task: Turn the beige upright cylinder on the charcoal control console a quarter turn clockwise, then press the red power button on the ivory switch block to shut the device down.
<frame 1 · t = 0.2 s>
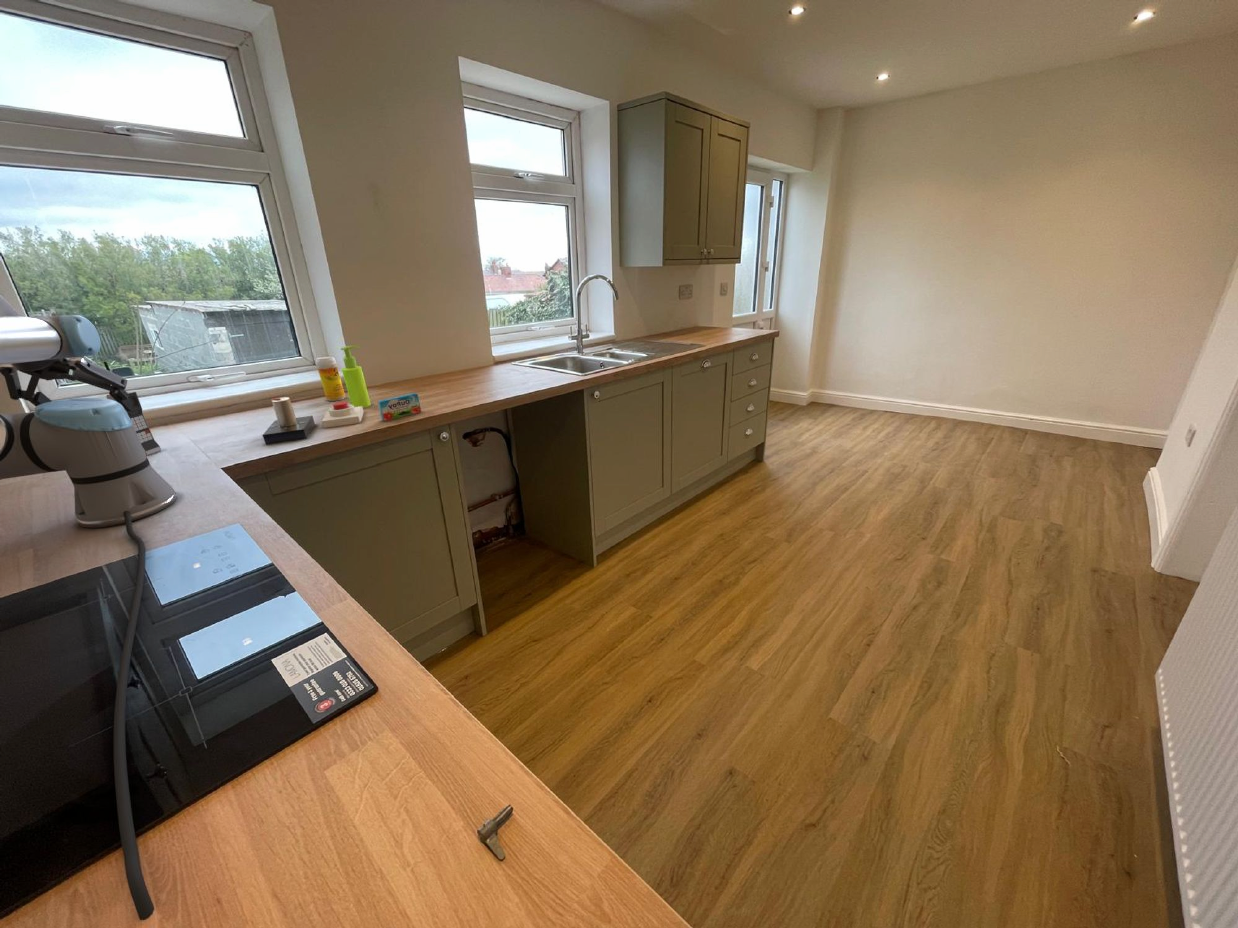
hand: (95, 410, 119), 16 cm above the worktop, tool tilted 35°, fingers open, 13 cm apart
beige upright cylinder: (284, 411, 143), point 7 cm above the worktop, hinge at 90.0°
yogurt: (402, 417, 157), on the worktop
vintage mobile phone: (148, 453, 137), on the worktop
power button: (340, 406, 155), point 4 cm above the worktop, slide at 0.1 cm
console: (291, 434, 146), on the worktop
yellow bottle: (336, 399, 181), on the worktop
soap dispenser: (363, 406, 171), on the worktop
switch block: (344, 420, 156), on the worktop
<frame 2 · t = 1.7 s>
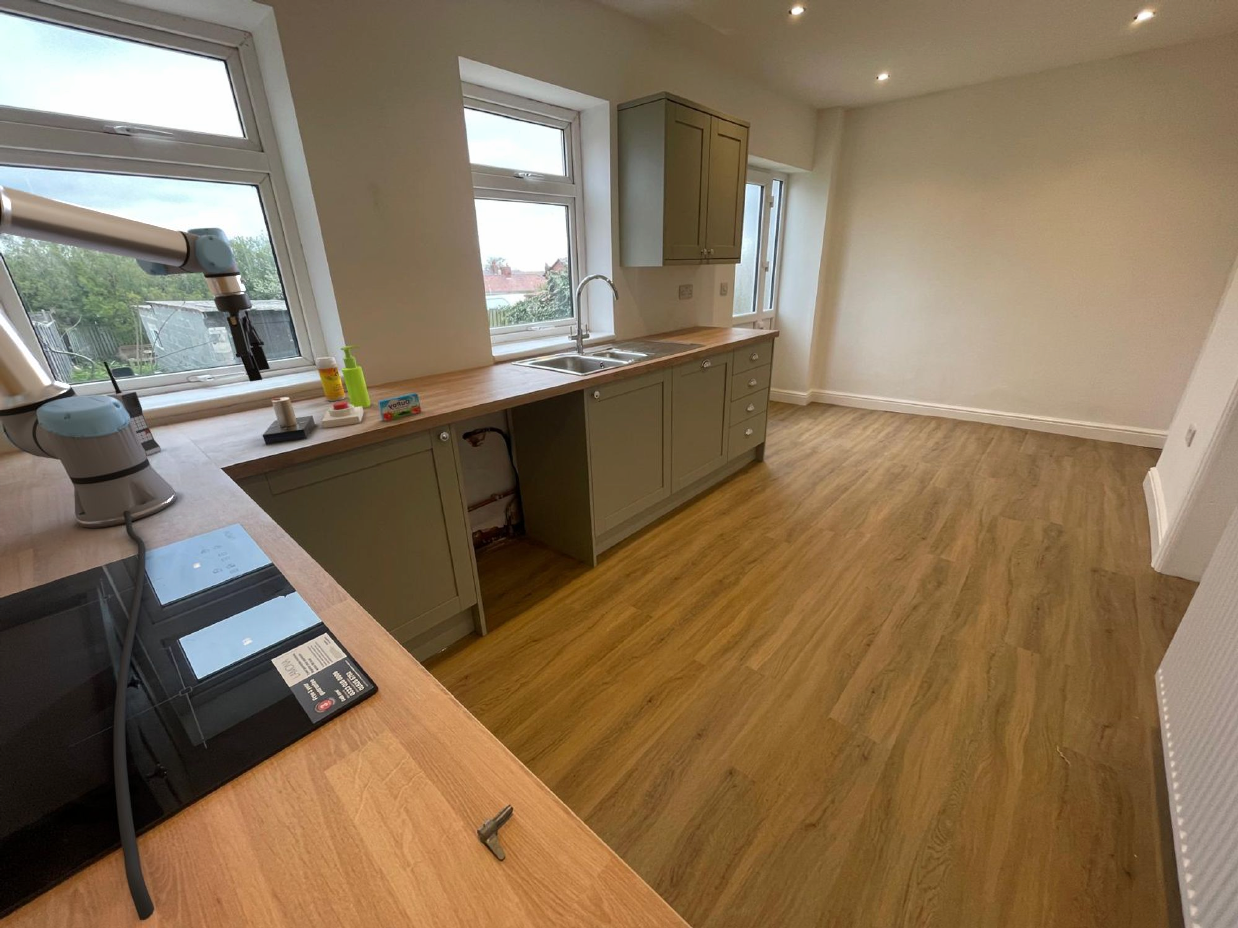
hand: (260, 375, 138), 18 cm above the worktop, tool pointing down, fingers open, 13 cm apart
nothing on the worktop moved.
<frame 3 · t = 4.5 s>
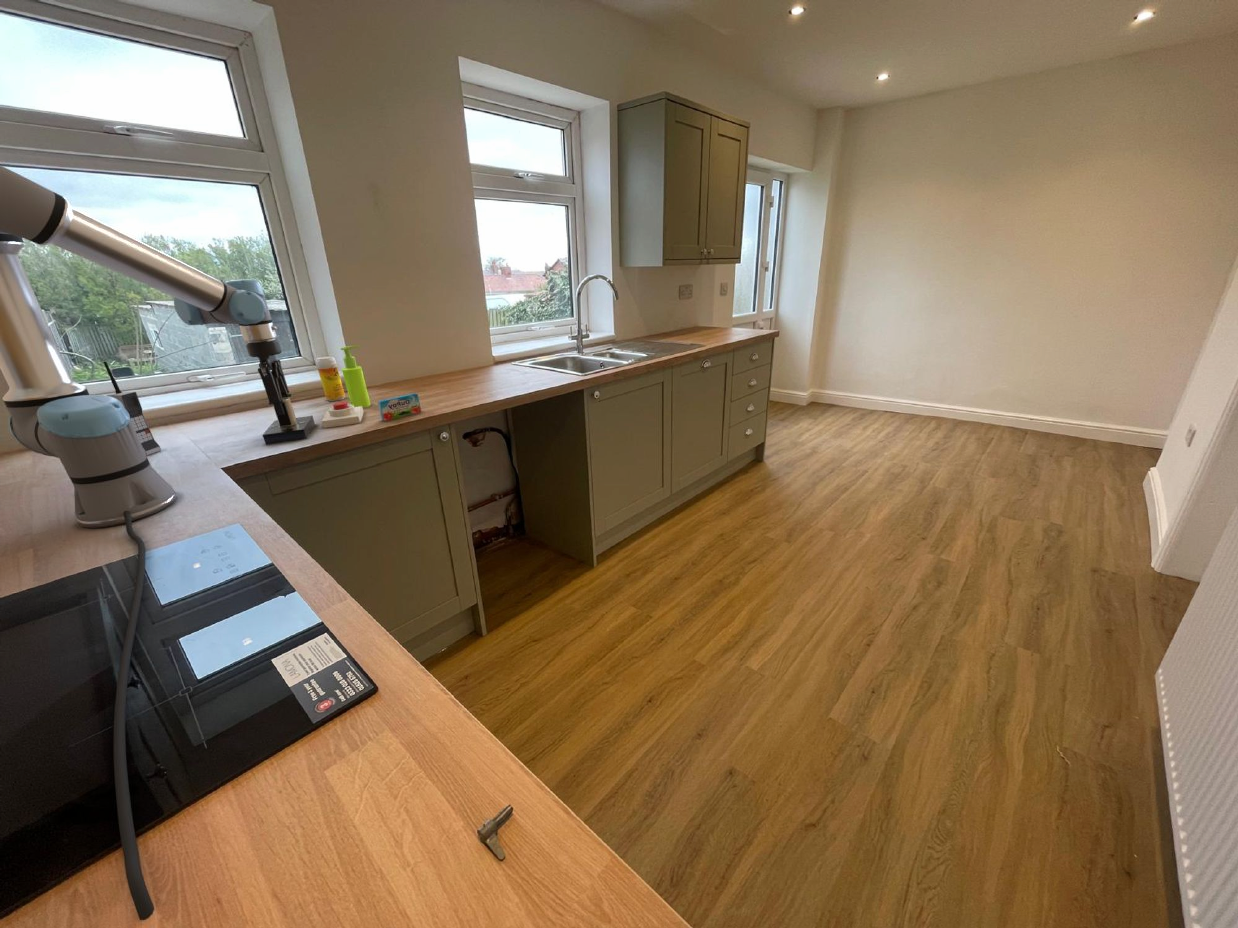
hand: (288, 422, 144), 4 cm above the worktop, tool pointing down, fingers closed on beige upright cylinder, 4 cm apart
beige upright cylinder: (284, 411, 143), point 7 cm above the worktop, hinge at 89.9°, touching gripper
everything else where it was.
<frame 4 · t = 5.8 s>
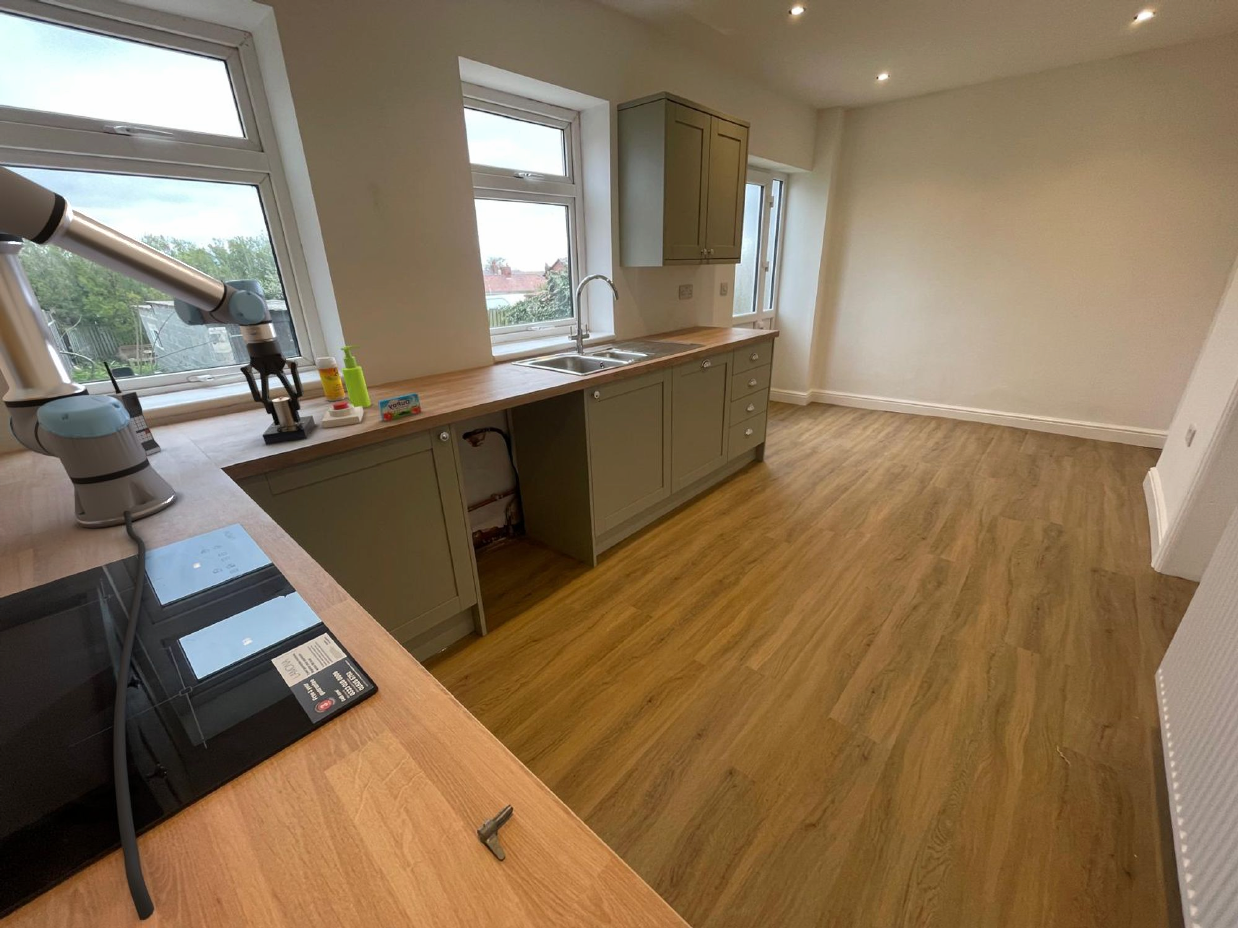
hand: (288, 422, 144), 4 cm above the worktop, tool pointing down, fingers closed on beige upright cylinder, 4 cm apart
beige upright cylinder: (284, 411, 143), point 7 cm above the worktop, hinge at -0.3°, touching gripper
everything else where it was.
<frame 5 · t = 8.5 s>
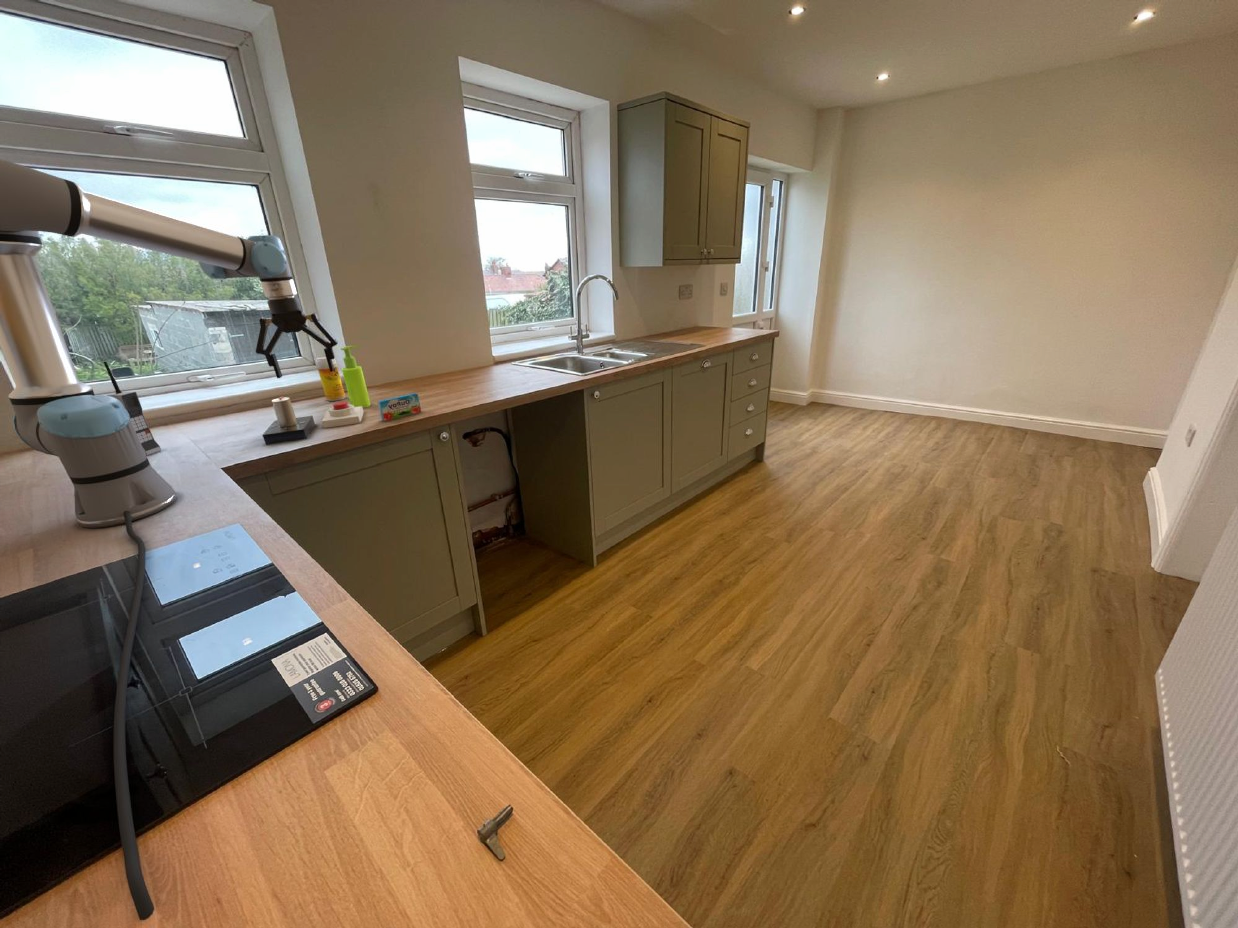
hand: (306, 374, 145), 16 cm above the worktop, tool pointing down, fingers open, 13 cm apart
beige upright cylinder: (284, 411, 143), point 7 cm above the worktop, hinge at -0.5°
everything else where it was.
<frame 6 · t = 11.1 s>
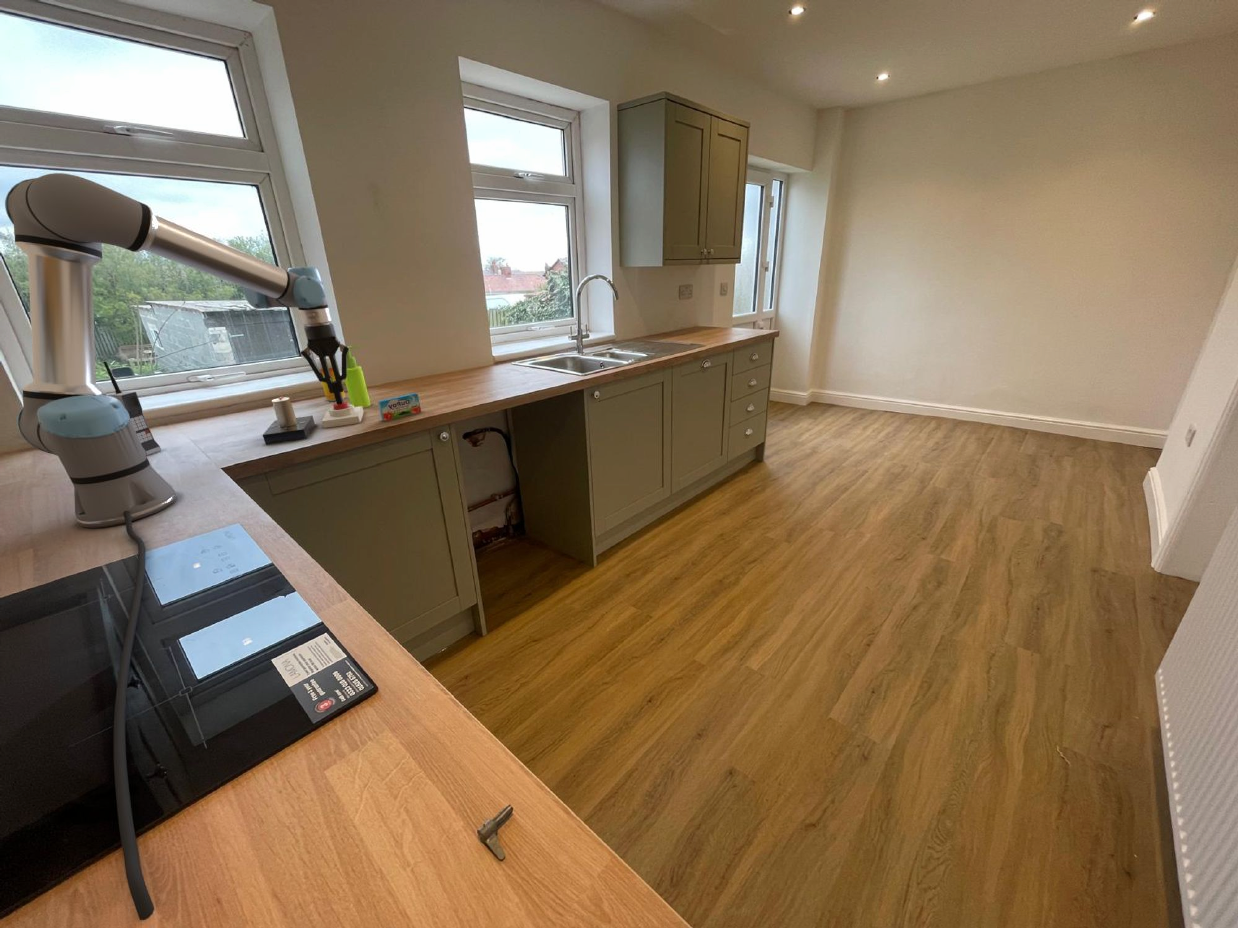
hand: (340, 402, 154), 6 cm above the worktop, tool pointing down, fingers closed
power button: (340, 406, 155), point 4 cm above the worktop, slide at 0.1 cm, touching gripper
everything else where it was.
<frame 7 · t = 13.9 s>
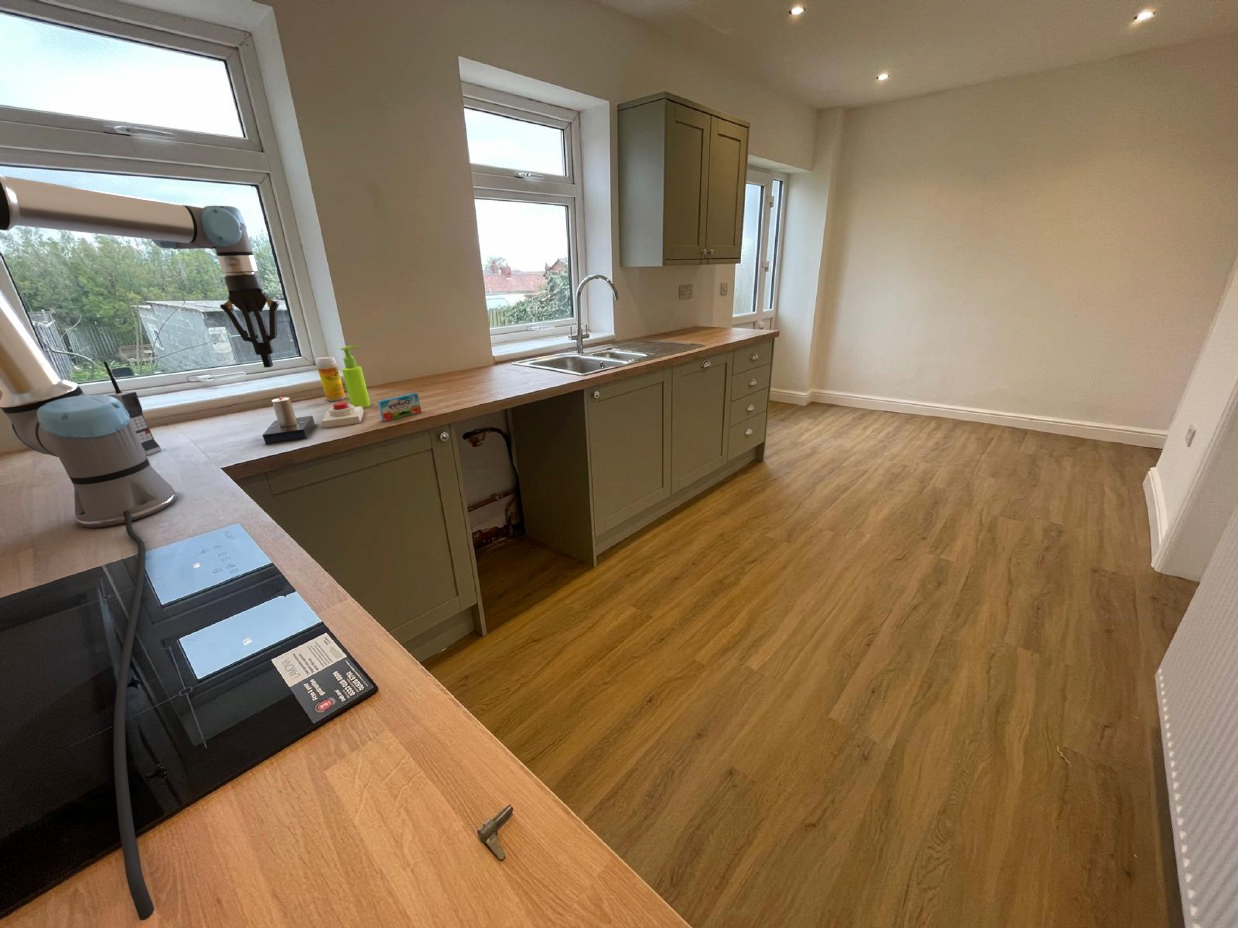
hand: (268, 366, 137), 20 cm above the worktop, tool pointing down, fingers closed
power button: (340, 406, 155), point 4 cm above the worktop, slide at 0.1 cm
everything else where it was.
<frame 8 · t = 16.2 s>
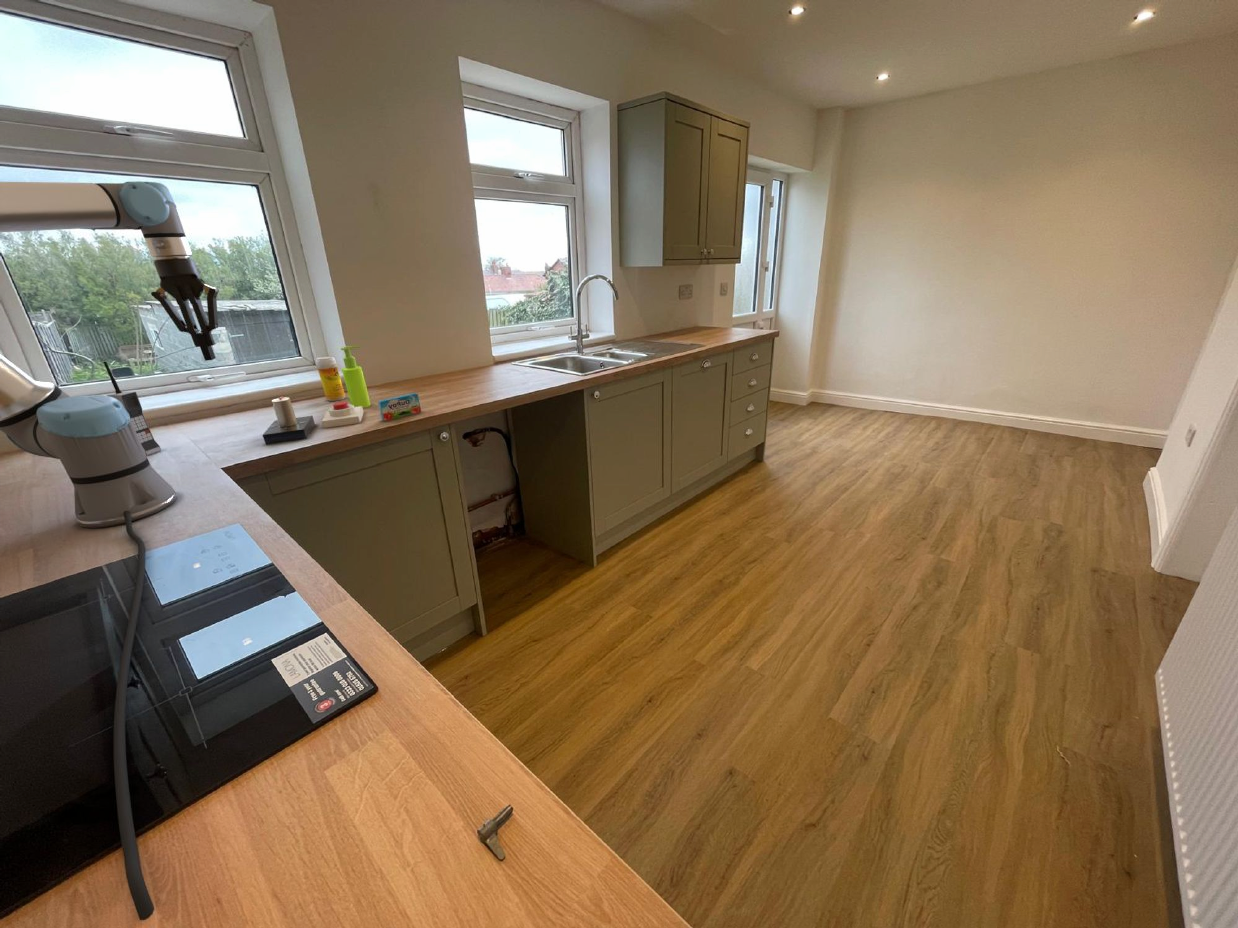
hand: (210, 359, 126), 24 cm above the worktop, tool pointing down, fingers closed
nothing on the worktop moved.
at the end: beige upright cylinder at +0° (first picture: +90°); power button pushed in 1.0 cm at the most during the clip, back to where it started at the end; power button slide at 0.1 cm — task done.
